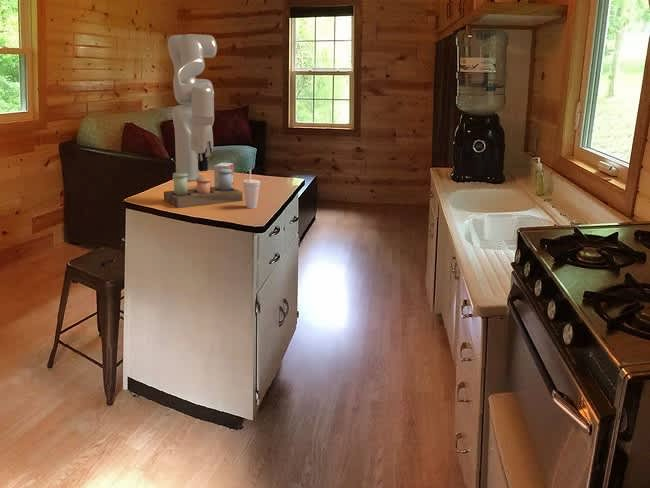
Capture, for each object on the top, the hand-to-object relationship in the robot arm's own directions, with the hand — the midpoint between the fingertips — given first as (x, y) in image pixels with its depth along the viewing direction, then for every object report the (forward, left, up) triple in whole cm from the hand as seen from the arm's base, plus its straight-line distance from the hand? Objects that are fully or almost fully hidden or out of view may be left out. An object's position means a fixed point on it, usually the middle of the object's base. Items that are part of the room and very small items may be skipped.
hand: (202, 170), depth 233 cm
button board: (+1, 0, -11) cm, 11 cm away
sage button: (+1, -9, -8) cm, 12 cm away
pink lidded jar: (+1, 0, -11) cm, 11 cm away
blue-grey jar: (+1, +9, -8) cm, 12 cm away
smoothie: (+18, +11, -12) cm, 24 cm away
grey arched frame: (-13, +16, -12) cm, 24 cm away
